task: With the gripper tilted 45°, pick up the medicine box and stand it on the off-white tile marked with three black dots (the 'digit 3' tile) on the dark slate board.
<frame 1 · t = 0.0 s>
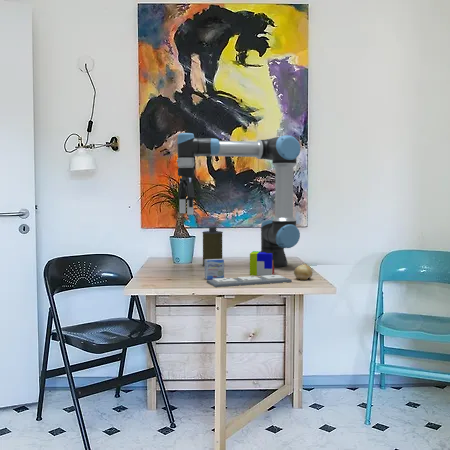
hand: (186, 214, 259), 28 cm above the table, tool pointing down, fingers open, 13 cm apart
onion: (303, 280, 246), on the table
puzzle toy: (262, 274, 261), on the table
medicine box: (214, 279, 248), on the table
canister: (212, 265, 289), on the table
digit board: (249, 282, 239), on the table
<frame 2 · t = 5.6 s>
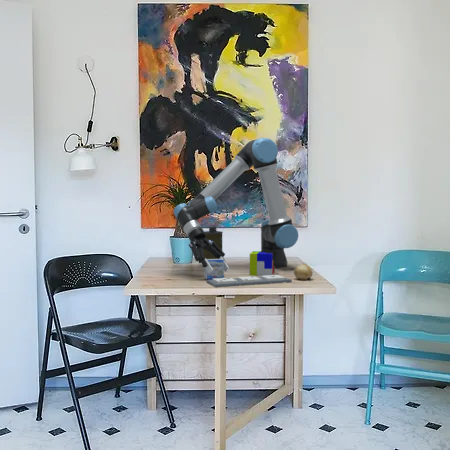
hand: (219, 270, 246), 4 cm above the table, tool tilted 45°, fingers closed on medicine box, 9 cm apart
medicine box: (214, 279, 248), on the table, touching gripper
everything else where it was.
when the fingers open (7 cm above the table, at t = 10.8 s): medicine box drops 1 cm, resting on digit board.
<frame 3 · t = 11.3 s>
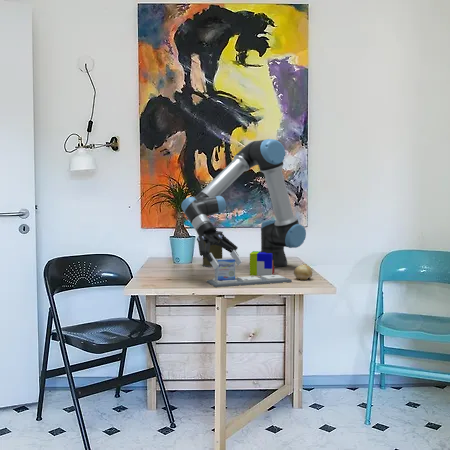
hand: (228, 265, 233), 8 cm above the table, tool tilted 45°, fingers open, 13 cm apart
medicine box: (224, 279, 235), point 2 cm above the table, touching digit board
everything else where it was.
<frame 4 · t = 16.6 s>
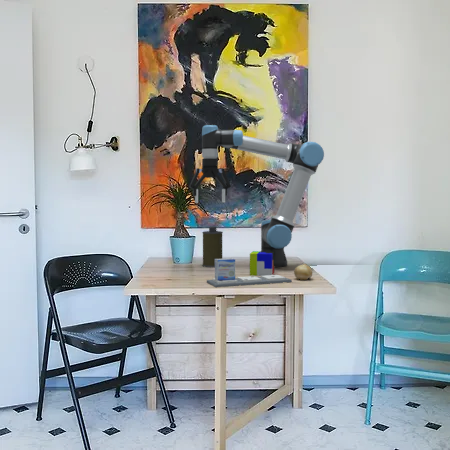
hand: (210, 202, 271), 33 cm above the table, tool pointing down, fingers open, 13 cm apart
nothing on the table moved.
at the end: medicine box inside the target area on the digit board (0.3 cm from its centre), point 1.6 cm above the digit board's base; medicine box tilted 0°; the gripper is holding nothing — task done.
